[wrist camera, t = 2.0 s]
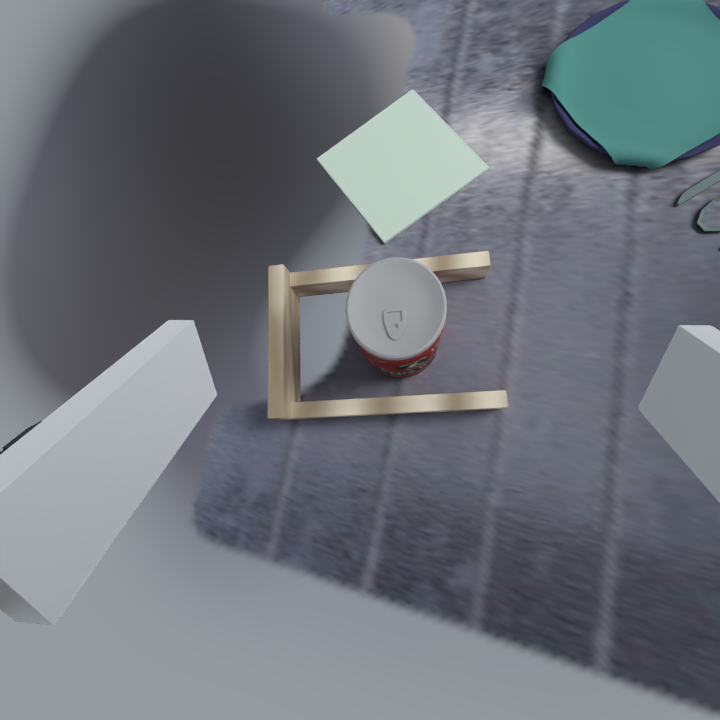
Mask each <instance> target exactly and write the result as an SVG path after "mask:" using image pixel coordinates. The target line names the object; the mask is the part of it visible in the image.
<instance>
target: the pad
mask: <svg viewBox="0 0 720 720" xmlns="http://www.w3.org/2000/svg"><path fill="white" fill-rule="evenodd" d="M317 160H318V162H319V164H321V166H322V167H323V169H324V170H325V171H326V172H327V173H328V175H329V176H330V177H331V178H332V180H333V181H334V182H335V183H336V185H337V186H338V187H339V188H340V189H341V191H342V192H343V193H344V194H345V196H346V197H347V198H348V199H349V201H350V202H351V203H352V204H353V206H354V207H355V208H356V209H357V211H358V212H359V213H360V214H361V215H362V217H363V218H364V219H365V221H366V222H367V223H368V224H369V226H370V227H371V228H372V229H373V230H374V232H375V233H376V234H377V235H378V237H379V238H380V239H381V240H382V242H383V243H384V244H386V243H387V242H389V241H390V240H392V239H393V238H394V237H396V236H397V235H398V234H400V233H401V232H403V231H404V230H405V229H407V228H408V227H410V226H411V225H412V224H414V223H415V222H417V221H418V220H419V219H421V218H422V217H424V216H425V215H426V214H428V213H429V212H430V211H432V210H433V209H435V208H436V207H437V206H439V205H440V204H442V203H443V202H444V201H446V200H447V199H449V198H450V197H451V196H453V195H454V194H456V193H457V192H458V191H460V190H461V189H463V188H464V187H465V186H467V185H468V184H469V183H471V182H472V181H474V180H475V179H476V178H478V177H479V176H481V175H482V174H483V173H485V172H486V171H488V169H489V167H488V166H487V165H486V164H485V163H484V162H483V161H482V160H481V158H480V157H479V156H478V155H477V154H476V153H475V152H474V151H473V150H472V149H471V148H470V147H469V146H468V145H467V144H466V143H465V142H464V141H463V140H462V139H461V138H460V137H459V136H458V135H457V134H456V133H455V132H454V131H453V130H452V129H451V128H450V127H449V126H448V125H447V124H446V123H445V122H444V121H443V120H442V119H441V118H440V117H439V116H438V115H437V113H436V112H435V111H434V110H433V109H432V108H431V107H430V106H429V105H428V104H427V103H426V102H425V101H424V100H423V99H422V98H421V97H420V96H419V95H418V94H417V93H416V92H415V91H414V90H413V89H412V90H411V91H409V92H408V93H407V94H405V95H404V96H402V97H401V98H400V99H398V100H397V101H396V102H394V103H393V104H392V105H390V106H389V107H387V108H386V109H385V110H383V111H382V112H380V113H379V114H378V115H376V116H375V117H373V118H372V119H371V120H369V121H368V122H367V123H365V124H364V125H362V126H361V127H360V128H358V129H357V130H356V131H354V132H353V133H351V134H350V135H349V136H347V137H346V138H345V139H343V140H342V141H340V142H339V143H338V144H336V145H335V146H334V147H332V148H331V149H330V150H328V151H327V152H325V153H324V154H323V155H321V156H320V157H319V158H317Z"/></svg>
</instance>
